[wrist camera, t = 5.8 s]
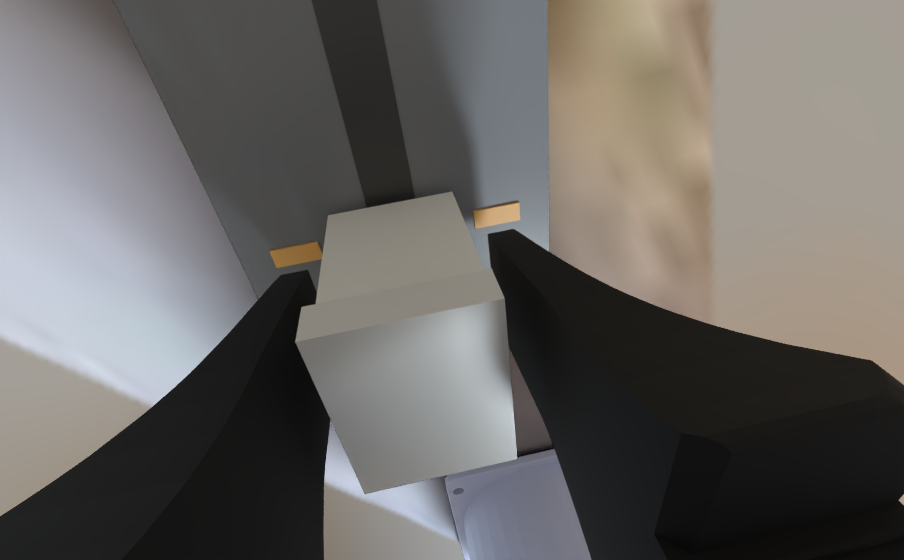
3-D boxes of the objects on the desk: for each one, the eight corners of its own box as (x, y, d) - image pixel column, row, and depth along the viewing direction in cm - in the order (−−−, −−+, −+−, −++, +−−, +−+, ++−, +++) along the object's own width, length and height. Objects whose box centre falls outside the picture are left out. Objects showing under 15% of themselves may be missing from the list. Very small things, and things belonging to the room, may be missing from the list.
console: (535, 314, 16) (550, 344, 15) (309, 362, 15) (305, 396, 14) (501, -811, 5) (544, -1052, 4) (-199, -773, 5) (-391, -1027, 4)
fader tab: (468, 304, 13) (517, 459, 9) (364, 325, 13) (365, 493, 9) (449, 172, 10) (504, 298, 6) (321, 196, 10) (295, 341, 6)
